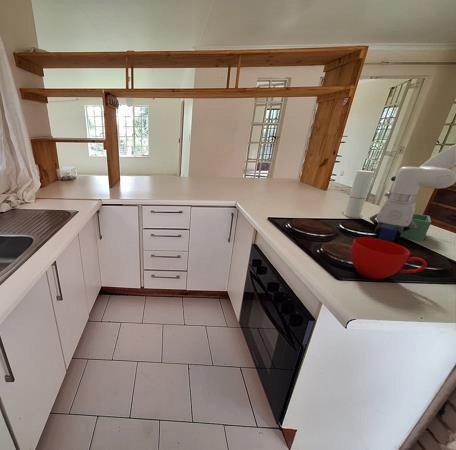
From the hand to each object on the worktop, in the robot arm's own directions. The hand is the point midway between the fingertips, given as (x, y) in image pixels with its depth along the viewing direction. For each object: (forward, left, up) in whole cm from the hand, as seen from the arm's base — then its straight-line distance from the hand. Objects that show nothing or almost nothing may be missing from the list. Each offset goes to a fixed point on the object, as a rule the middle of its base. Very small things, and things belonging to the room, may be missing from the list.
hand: (385, 237), depth 103 cm
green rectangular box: (+4, -14, 0) cm, 15 cm away
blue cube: (0, 0, 0) cm, 0 cm away
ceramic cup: (-22, +37, -1) cm, 43 cm away
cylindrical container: (+29, -18, -1) cm, 34 cm away
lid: (+8, -11, +17) cm, 22 cm away
